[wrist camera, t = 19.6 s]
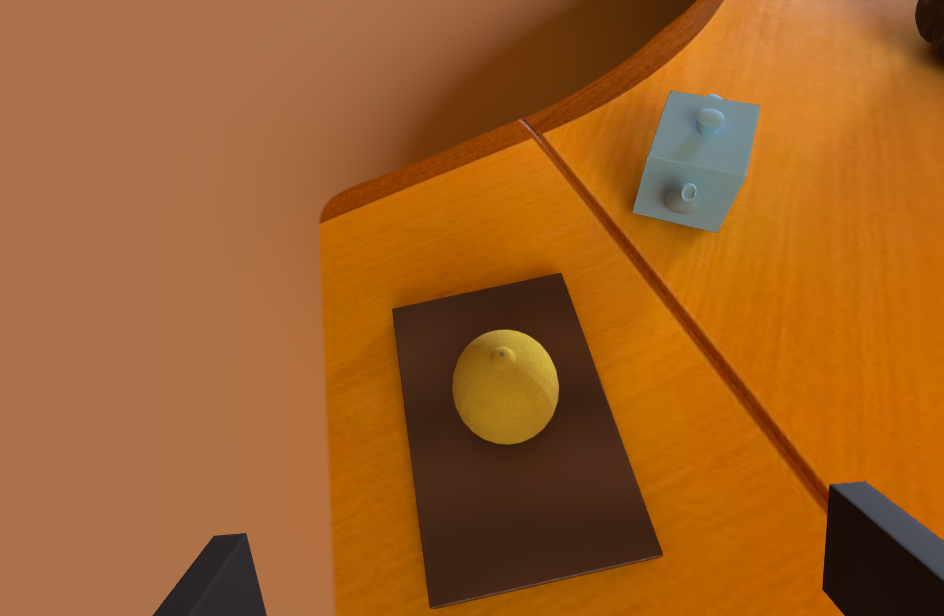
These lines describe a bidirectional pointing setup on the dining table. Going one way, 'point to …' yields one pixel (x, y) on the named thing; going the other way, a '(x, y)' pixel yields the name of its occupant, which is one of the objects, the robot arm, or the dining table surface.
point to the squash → (931, 23)
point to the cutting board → (515, 455)
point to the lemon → (505, 387)
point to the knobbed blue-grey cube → (697, 160)
